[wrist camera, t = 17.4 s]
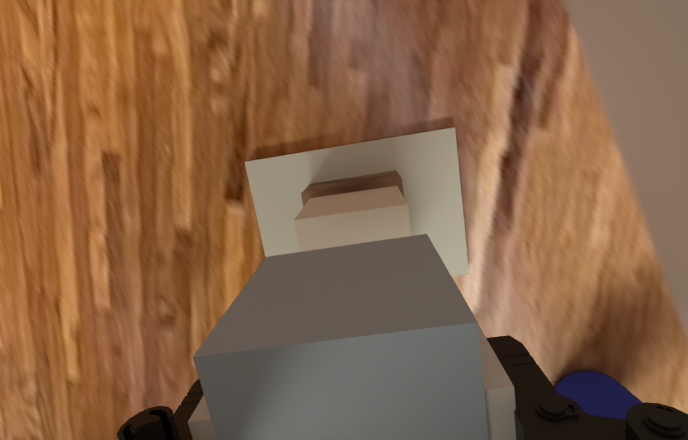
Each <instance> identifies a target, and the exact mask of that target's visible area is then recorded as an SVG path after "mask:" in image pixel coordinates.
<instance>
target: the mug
mask: <svg viewBox="0 0 688 440" xmlns="http://www.w3.org/2000/svg"><path fill="white" fill-rule="evenodd" d="M555 389H556V391H557V392H558V394H562V395H564V396H566V397H568V398H570V399H572V400H574V401H575V402H576V403H577V404H578V405H580V406H581V408H582V410H583V411H584V412H586V413H589V414H592V415H597V416H602V417H610V418H618V419H625V420H626V414H627V410H628V409H629V408H630V407H632V406H633V405H634V404H640V403H643V402H641V401H640V400H639V399H638V398H637V397H635V396H634V395H633V394H632V393H631V392H629V391H628V390H627V389H626V388H625V387H624V386H622V385H621V384H620V383H619V382H617V381H616V380H615V379H613V378H611V377H610V376H608V375H606V374H603V373H600V372H597V371H579V372H575V373H572V374H570V375H568V376H566V377H565V378H563V379H562V380H561V381H560V382H559V383H558V384H557V385H556V387H555Z"/></svg>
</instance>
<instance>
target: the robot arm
mask: <svg viewBox="0 0 688 440" xmlns="http://www.w3.org/2000/svg"><path fill="white" fill-rule="evenodd" d="M478 332H479V342H480V353H481V364H482V374H483V385H484V395H485V406H486V417H487V427H488V438H489V440H688V414H686V413H684V412H682V411H680V410H678V409H675V408H673V407H669V406H666V405H662V404H658V403H640V404H634V405H633V406H632V407H630V408H629V409H628V410H627V414H626V420H625V419H618V418H610V417H602V416H597V415H592V414H589V413H586V412H584V411H583V410H582V408H581V406H580V405H578V404H577V403H576V402H575V401H574V400H572V399H570V398H568V397H566V396H564V395H562V394H558V392H557V391H556V389H555V388H554V387H553V385H552V384H551V383H550V381H549V380H548V378H547V377H546V376H545V374H544V373H543V372H542V370H541V369H540V367H539V366H538V365H537V364H536V362H535V361H534V359H533V358H532V356H530V354H529V352H528V351H527V350H526V348H525V347H524V345H523V344H522V343H521V342H519V341H517V340H516V339H514V338H512V337H511V336H509V335H508V336H500V337H491V338H486V337H485V335H484V334H483V332H482V330H481V328H480V327H479V325H478ZM117 435H118V438H119V440H217V438H216V435H215V432H214V428H213V425H212V421H211V418H210V414H209V411H208V407H207V404H206V400H205V397H204V393H203V390H202V386H201V383H200V379H198V380H197V381H196V382H195V383H194V384H193V386H192V387H191V389H190V390H189V392H188V393H187V396H185V398H184V399H183V401H182V403H181V405H180V406H179V407H178V409H177V410H176V412H175V413H174V415H173V411H172V410H171V409H170V408H169V407H165V406H158V407H153V408H149V409H147V410H144V411H142V412H139V413H138V414H136V415H135V416H133V417H131V418H130V419H129V420H128V421H127V422H126V423H124V424H123V425H122V426H121V428H120V429H119V431H118V433H117Z"/></svg>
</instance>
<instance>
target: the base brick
mask: <svg viewBox="0 0 688 440" xmlns="http://www.w3.org/2000/svg"><path fill="white" fill-rule="evenodd" d="M391 186H397V187H398V188H399V190H400V192H401V193H402V195H403V197H404V192H403V184H402V178H401V176H400V175H399V174H398V172H397V171H396V170H395V171H389V172H382V173H376V174H370V175H363V176H357V177H351V178H344V179H338V180H332V181H325V182H319V183H313V184H309V185H308V186H307V188H306V189H305V190H304V191H303V192H302V193H301V196H302V202H303V207H304V205H305V204H306V203H307V201H308V200H309V199H310V198H315V197H322V196H328V195H335V194H342V193H349V192H356V191H363V190H370V189H377V188H384V187H391Z"/></svg>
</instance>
